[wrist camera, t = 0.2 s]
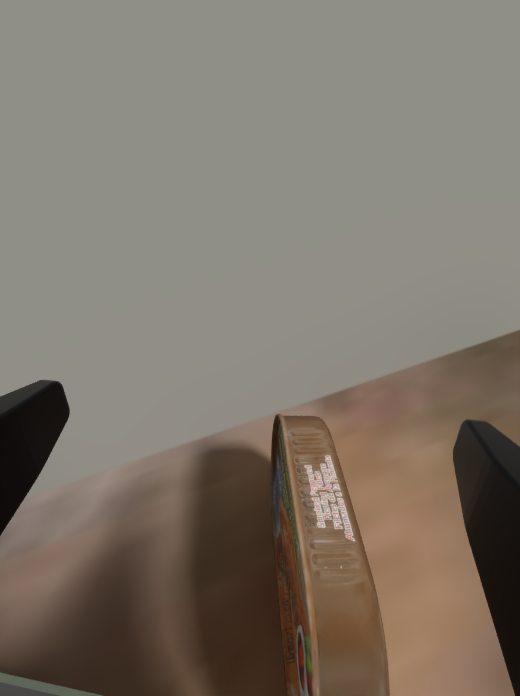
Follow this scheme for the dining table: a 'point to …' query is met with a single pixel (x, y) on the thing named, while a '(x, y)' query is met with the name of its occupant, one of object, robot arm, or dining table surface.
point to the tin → (322, 570)
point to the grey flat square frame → (20, 691)
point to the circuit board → (42, 686)
